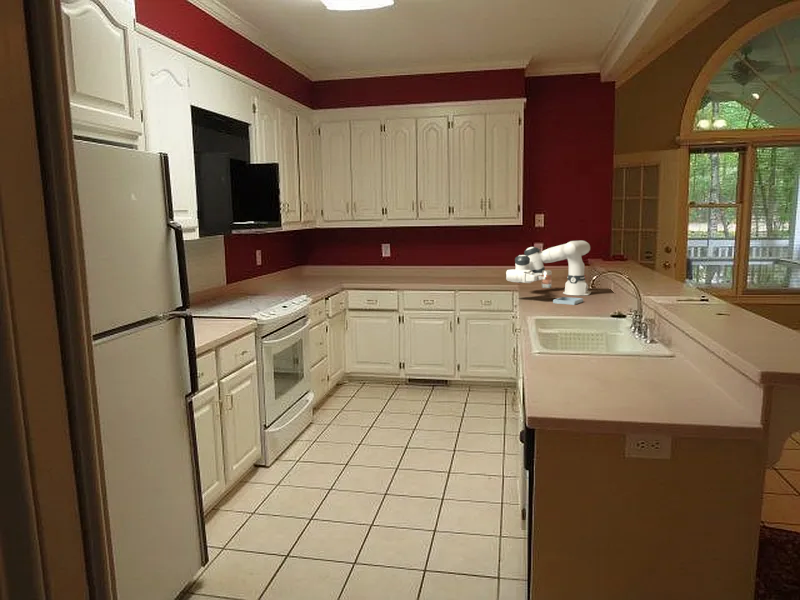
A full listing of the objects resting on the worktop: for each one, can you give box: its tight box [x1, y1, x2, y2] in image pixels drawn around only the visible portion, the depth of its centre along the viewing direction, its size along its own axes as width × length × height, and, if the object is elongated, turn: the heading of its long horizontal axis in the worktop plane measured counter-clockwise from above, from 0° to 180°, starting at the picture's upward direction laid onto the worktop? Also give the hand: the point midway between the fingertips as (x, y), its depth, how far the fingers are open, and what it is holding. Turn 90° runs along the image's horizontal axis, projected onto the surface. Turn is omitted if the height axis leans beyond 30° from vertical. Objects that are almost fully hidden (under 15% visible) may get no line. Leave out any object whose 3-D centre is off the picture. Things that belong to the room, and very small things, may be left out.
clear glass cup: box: [541, 269, 553, 289], centre depth 379 cm, size 6×6×11 cm
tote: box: [552, 296, 584, 306], centre depth 375 cm, size 16×14×3 cm
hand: (548, 277), depth 378 cm, fingers closed on clear glass cup, 6 cm apart
